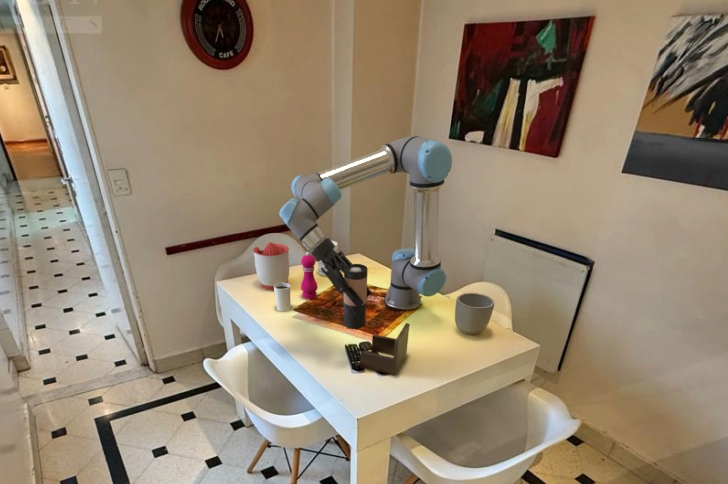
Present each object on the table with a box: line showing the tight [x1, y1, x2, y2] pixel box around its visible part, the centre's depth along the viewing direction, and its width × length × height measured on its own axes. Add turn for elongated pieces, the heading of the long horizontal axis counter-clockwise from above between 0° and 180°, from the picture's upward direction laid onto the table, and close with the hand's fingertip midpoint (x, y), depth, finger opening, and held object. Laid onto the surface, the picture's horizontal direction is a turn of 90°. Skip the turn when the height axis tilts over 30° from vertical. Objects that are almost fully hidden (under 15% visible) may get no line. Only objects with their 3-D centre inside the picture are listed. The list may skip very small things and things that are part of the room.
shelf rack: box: [359, 322, 411, 376], centre depth 157 cm, size 14×13×13 cm
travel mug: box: [343, 263, 369, 330], centre depth 151 cm, size 8×8×20 cm
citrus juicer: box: [252, 241, 290, 291], centre depth 207 cm, size 16×17×20 cm
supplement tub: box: [317, 240, 339, 277], centre depth 221 cm, size 10×10×15 cm
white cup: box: [273, 282, 292, 312], centre depth 190 cm, size 7×7×10 cm
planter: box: [454, 292, 495, 336], centre depth 175 cm, size 14×14×13 cm
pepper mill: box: [300, 251, 318, 300], centre depth 197 cm, size 7×7×20 cm
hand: (364, 300), depth 151 cm, fingers closed on travel mug, 7 cm apart
